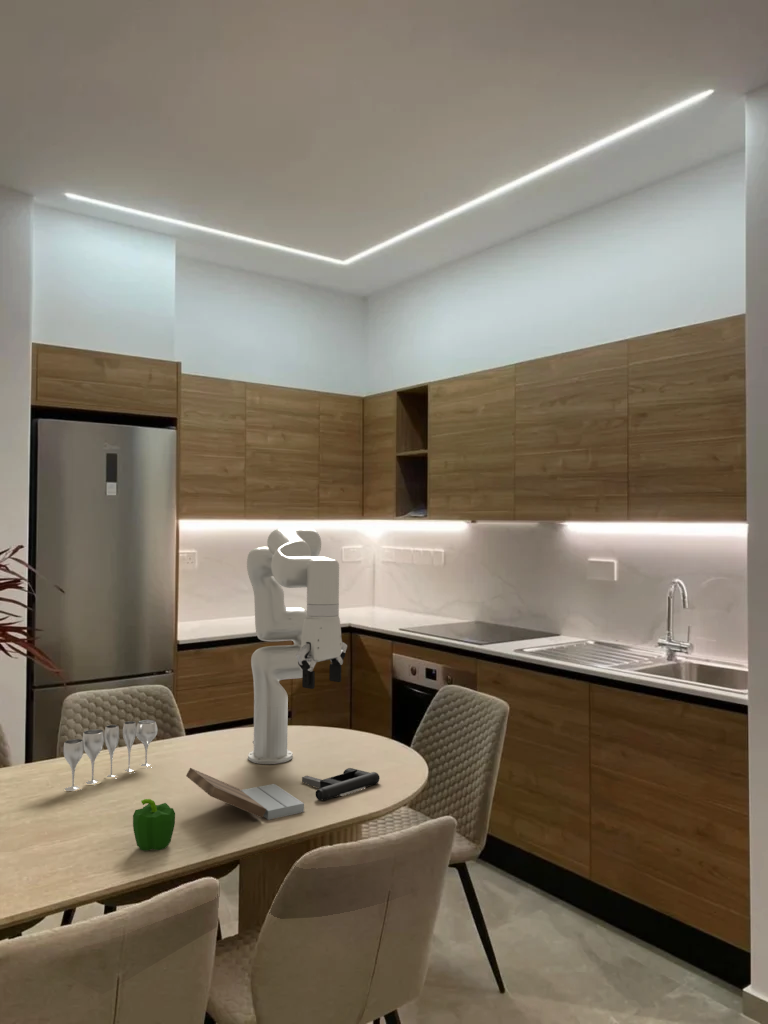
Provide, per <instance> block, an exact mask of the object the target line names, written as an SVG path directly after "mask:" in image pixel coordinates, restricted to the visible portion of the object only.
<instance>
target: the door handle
mask: <svg viewBox="0 0 768 1024" xmlns="http://www.w3.org/2000/svg"><path fill="white" fill-rule="evenodd" d="M379 781H380V775H379V773H378V772H375V771H373V772H372V771H371V772H369V771H364V770H360V769H358V768H357V769H356V768H354V767H352V768H351V767H348V768H346V769H344V771H343V773H341V774H337V775H334V776H331V777H326V778H323V779H320V778H317V777H314V776H310V775H305V776H304V775H303V776H302V777H301V783H302V782H304V783H303V784H305V783H306V785H308V784H309V785H308V786H310V785H311V787H313V786H314V788H316V787H317V789H316V791H315V797H316V799H317V801H327V800H330V799H333V798H336V797H340V796H343V797H344V795H345V796H347V795H346V794H348V795H351V794H354V793H357V792H359V791H358V790H360V791H362V790H361V789H363V790H365V789H366V788H368V787H370V785H371V786H374V785H377V784H378V783H379ZM376 783H377V784H376ZM373 784H374V785H373ZM367 786H368V787H367ZM364 788H365V789H364ZM356 791H357V792H356ZM353 792H354V793H353ZM350 793H351V794H350Z"/></svg>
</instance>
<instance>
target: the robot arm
mask: <svg viewBox="0 0 768 1024" xmlns="http://www.w3.org/2000/svg"><path fill="white" fill-rule="evenodd" d="M320 536H321V535H320V534H319V532H318V531H317V530H315V529H314V528H310V527H280V528H276V529H274V530H273V531H271V532H270V534H269V535H268V537H267V541H266V542H267V543H266V545H267V546H259V547H255V548H253V549H252V550H250V551H249V553H248V554H247V558H246V571H247V575H248V578H249V581H250V584H251V587H252V590H253V596H254V623H255V624H254V625H255V633H256V636H257V639H258V640H260V641H263V642H284V641H292V642H293V644H289V645H288V644H286V645H269V646H263V647H262V646H261V647H259V648H257V649H255V651H254V652H253V653H252V654H251V657H250V658H251V659H250V665H251V673H252V679H253V740H252V744H253V750H252V751H250V752H248V754H247V760H248V761H250V762H252V763H254V764H261V765H278V764H283V763H287V762H289V761H290V760H292V759H293V757H294V756H293V755H294V753H293V751H291V750H289V749H288V724H289V723H288V722H289V721H288V719H289V718H288V716H289V707H288V705H289V704H288V702H289V698H288V697H289V696H288V693H287V691H286V690H285V688H284V687H283V686H282V684H280V681H282V680H290V679H291V680H293V679H295V680H296V679H301V680H302V683H301V685H302V688H305V689H308V690H309V689H310V690H312V689H313V690H314V689H315V686H316V685H315V682H316V680H315V679H316V678H315V677H316V676H315V675H316V674H315V673H316V672H315V670H314V668H315V667H316V664H317V663H320V662H324V661H330V663H329V665H328V666H329V667H328V668H329V673H328V674H329V677H328V678H329V681H330V682H335V683H341V682H342V665H343V663H344V659H345V657H346V653H347V652H346V651H347V649H348V644H346V643H345V642H343V639H342V628H341V627H342V626H341V620H340V619H341V618H340V612H339V611H340V601H339V600H340V563H339V562H338V560H337V559H334V558H330V557H328V556H320V553H321V550H322V539H321V537H320ZM283 588H286V589H287V588H288V589H293V588H295V589H297V588H306V609H305V607H300V606H292V607H291V606H290V607H286V605H285V591H284V589H283Z"/></svg>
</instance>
